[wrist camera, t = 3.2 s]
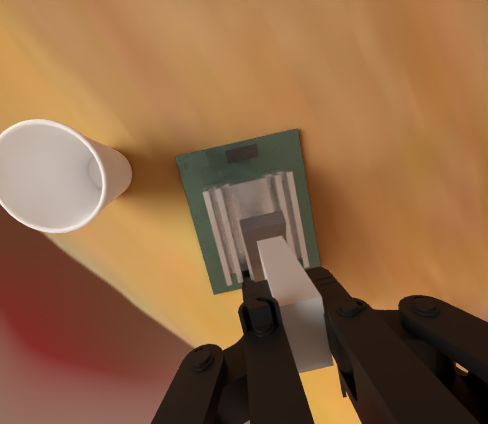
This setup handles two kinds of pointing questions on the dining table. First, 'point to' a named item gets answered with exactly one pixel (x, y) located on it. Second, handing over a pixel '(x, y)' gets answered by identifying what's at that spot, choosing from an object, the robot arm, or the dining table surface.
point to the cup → (57, 175)
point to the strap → (261, 236)
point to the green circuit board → (247, 202)
